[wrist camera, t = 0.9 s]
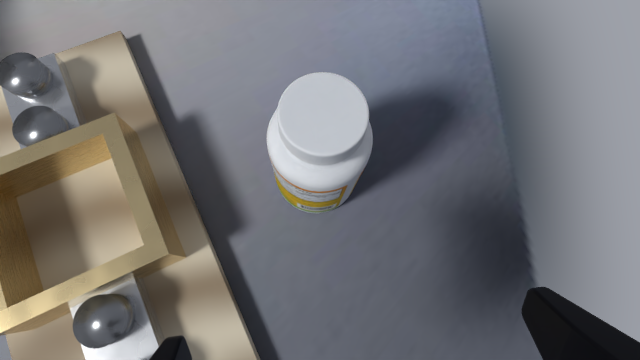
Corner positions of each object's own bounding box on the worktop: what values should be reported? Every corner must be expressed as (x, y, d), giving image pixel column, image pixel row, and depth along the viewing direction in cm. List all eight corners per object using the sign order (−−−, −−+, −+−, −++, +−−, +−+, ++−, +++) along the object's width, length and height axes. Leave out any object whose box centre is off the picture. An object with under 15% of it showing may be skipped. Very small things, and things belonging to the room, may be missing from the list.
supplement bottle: (319, 124, 26) (329, 35, 16) (370, 180, 25) (412, 118, 16) (259, 171, 25) (233, 103, 15) (311, 231, 24) (316, 198, 14)
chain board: (265, 371, 21) (263, 375, 20) (59, 483, 19) (47, 494, 18) (126, 39, 27) (120, 30, 26) (-44, 101, 25) (-58, 94, 24)
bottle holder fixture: (231, 371, 20) (219, 386, 18) (71, 457, 19) (29, 489, 16) (104, 49, 26) (78, 19, 23) (-31, 98, 24) (-76, 73, 21)
